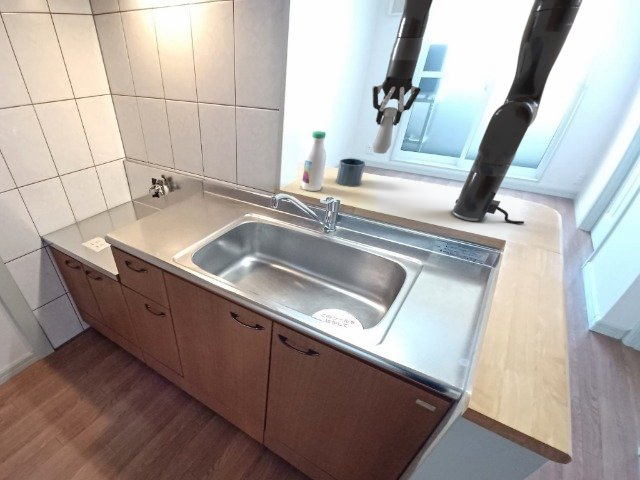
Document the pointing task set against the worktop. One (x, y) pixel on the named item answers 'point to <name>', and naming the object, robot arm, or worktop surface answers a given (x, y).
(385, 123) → the salt shaker
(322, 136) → the milk bottle
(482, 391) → the worktop surface
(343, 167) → the cup
